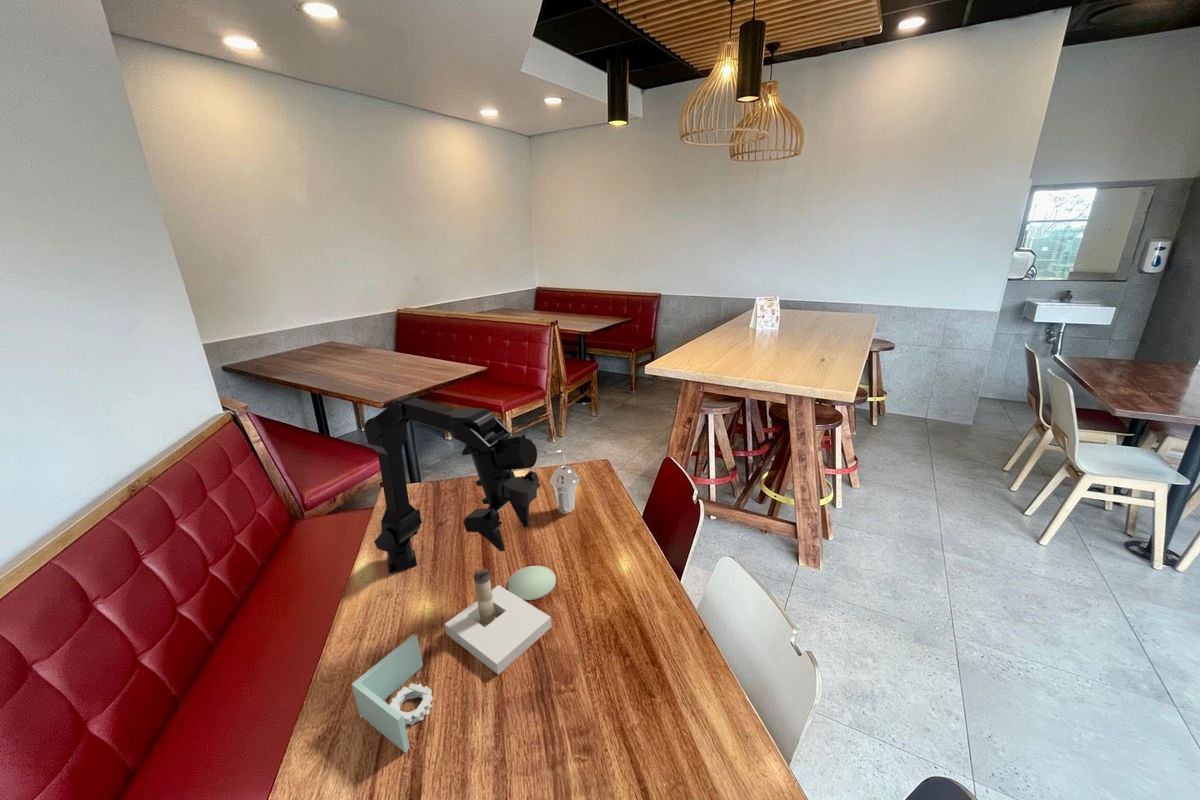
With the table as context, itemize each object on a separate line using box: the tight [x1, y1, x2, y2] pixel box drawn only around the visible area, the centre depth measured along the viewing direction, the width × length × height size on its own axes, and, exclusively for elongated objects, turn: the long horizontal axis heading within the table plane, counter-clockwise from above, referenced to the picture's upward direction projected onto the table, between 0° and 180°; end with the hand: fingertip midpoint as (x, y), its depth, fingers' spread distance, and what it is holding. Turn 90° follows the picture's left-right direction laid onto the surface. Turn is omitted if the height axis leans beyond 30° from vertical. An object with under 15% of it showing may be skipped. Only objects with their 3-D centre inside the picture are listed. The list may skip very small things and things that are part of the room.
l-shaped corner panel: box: [351, 633, 434, 754], centre depth 80 cm, size 12×12×8 cm
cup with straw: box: [544, 450, 580, 513], centre depth 135 cm, size 8×9×20 cm
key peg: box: [473, 568, 499, 627], centre depth 96 cm, size 4×4×12 cm
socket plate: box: [444, 584, 553, 676], centre depth 95 cm, size 16×14×2 cm
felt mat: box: [507, 565, 557, 601], centre depth 109 cm, size 11×11×1 cm
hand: (514, 538), depth 99 cm, fingers open, 9 cm apart
